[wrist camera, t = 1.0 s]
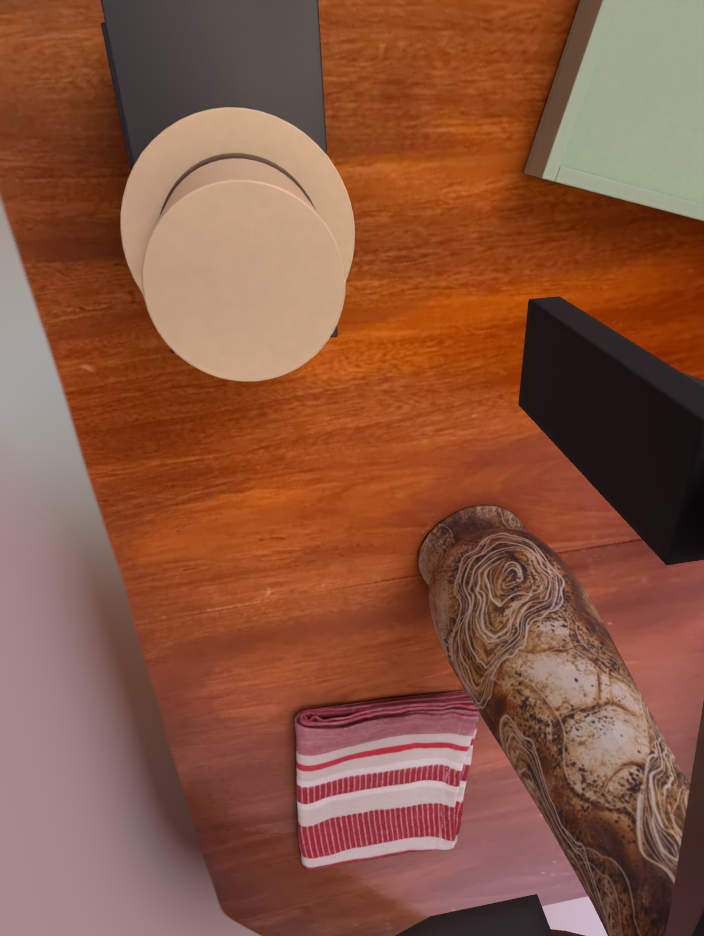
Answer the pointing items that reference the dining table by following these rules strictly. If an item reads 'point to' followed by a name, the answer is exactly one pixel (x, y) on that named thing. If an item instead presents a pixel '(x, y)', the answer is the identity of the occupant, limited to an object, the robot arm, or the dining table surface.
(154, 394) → the dining table surface
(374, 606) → the dining table surface
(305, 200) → the hat
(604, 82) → the tray
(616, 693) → the vase
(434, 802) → the dish towel
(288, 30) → the black rectangular block
